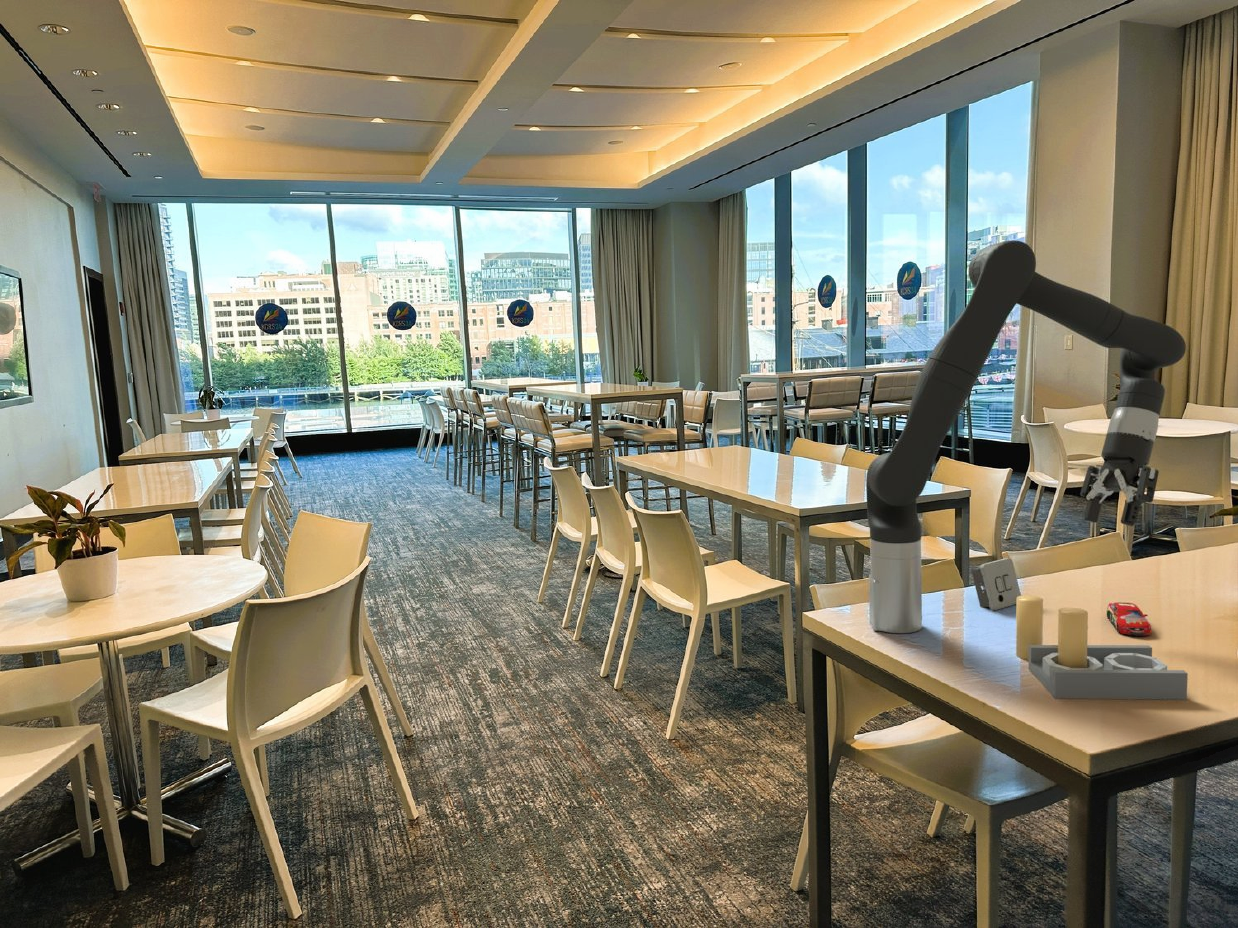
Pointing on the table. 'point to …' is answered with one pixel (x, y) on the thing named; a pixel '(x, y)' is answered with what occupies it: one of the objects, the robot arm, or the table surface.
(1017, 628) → the domed yellow post
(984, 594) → the electrical switch
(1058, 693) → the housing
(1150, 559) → the table surface
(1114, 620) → the race car
